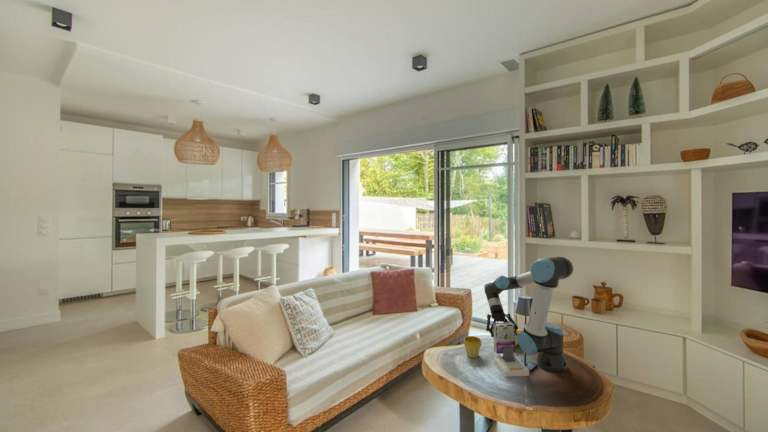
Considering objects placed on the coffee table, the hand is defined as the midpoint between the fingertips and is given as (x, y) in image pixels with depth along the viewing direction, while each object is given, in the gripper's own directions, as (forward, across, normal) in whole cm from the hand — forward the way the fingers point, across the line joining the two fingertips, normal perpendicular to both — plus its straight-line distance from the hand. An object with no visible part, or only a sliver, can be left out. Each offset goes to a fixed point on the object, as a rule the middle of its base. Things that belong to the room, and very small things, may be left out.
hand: (506, 342), depth 187 cm
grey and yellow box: (-9, -12, -27) cm, 31 cm away
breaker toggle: (+8, 0, -5) cm, 10 cm away
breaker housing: (+13, 0, -5) cm, 14 cm away
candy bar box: (+3, 0, -7) cm, 7 cm away
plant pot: (+1, +16, -17) cm, 24 cm away
